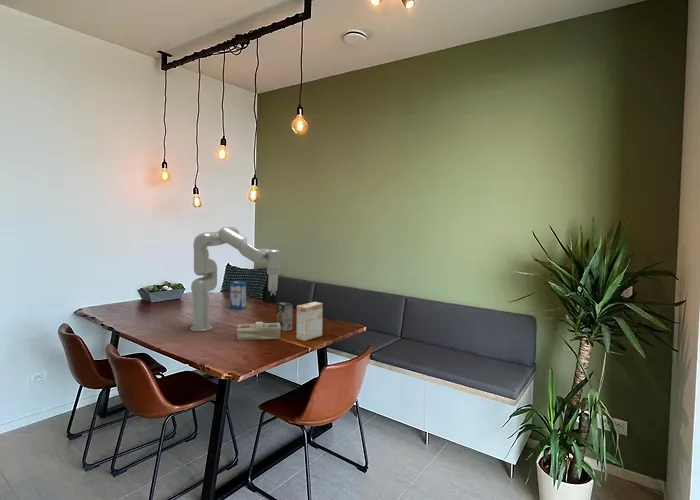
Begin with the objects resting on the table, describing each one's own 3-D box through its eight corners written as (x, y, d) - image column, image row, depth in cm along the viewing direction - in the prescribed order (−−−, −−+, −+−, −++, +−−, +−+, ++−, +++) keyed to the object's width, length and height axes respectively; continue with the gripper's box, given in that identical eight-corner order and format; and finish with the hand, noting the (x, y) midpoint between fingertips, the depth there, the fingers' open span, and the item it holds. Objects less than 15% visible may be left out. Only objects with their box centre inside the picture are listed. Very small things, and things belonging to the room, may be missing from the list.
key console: (238, 334, 239) (238, 324, 238) (279, 332, 243) (279, 322, 243) (237, 340, 227) (237, 329, 226) (280, 338, 232) (280, 328, 231)
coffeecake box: (314, 333, 243) (314, 301, 242) (322, 335, 239) (323, 303, 237) (295, 338, 232) (296, 305, 230) (304, 341, 227) (304, 307, 226)
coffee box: (276, 328, 253) (276, 302, 252) (285, 326, 257) (285, 301, 256) (283, 331, 246) (283, 305, 245) (292, 329, 250) (292, 304, 249)
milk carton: (229, 309, 302) (229, 282, 301) (234, 307, 308) (234, 281, 307) (241, 310, 300) (241, 283, 298) (246, 308, 306) (246, 282, 304)
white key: (255, 328, 236) (255, 321, 236) (262, 328, 237) (262, 321, 237) (255, 330, 233) (255, 323, 232) (262, 330, 233) (262, 323, 233)
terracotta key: (241, 330, 235) (241, 323, 235) (248, 330, 236) (248, 323, 235) (241, 332, 231) (241, 325, 231) (248, 332, 232) (248, 325, 231)
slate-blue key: (269, 329, 238) (269, 323, 238) (276, 329, 239) (276, 322, 239) (269, 331, 234) (269, 324, 234) (276, 331, 235) (276, 324, 235)
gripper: (266, 269, 240) (266, 299, 242) (266, 272, 226) (266, 305, 227) (279, 269, 242) (279, 299, 243) (280, 272, 227) (279, 304, 229)
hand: (272, 302), depth 235 cm, fingers closed
